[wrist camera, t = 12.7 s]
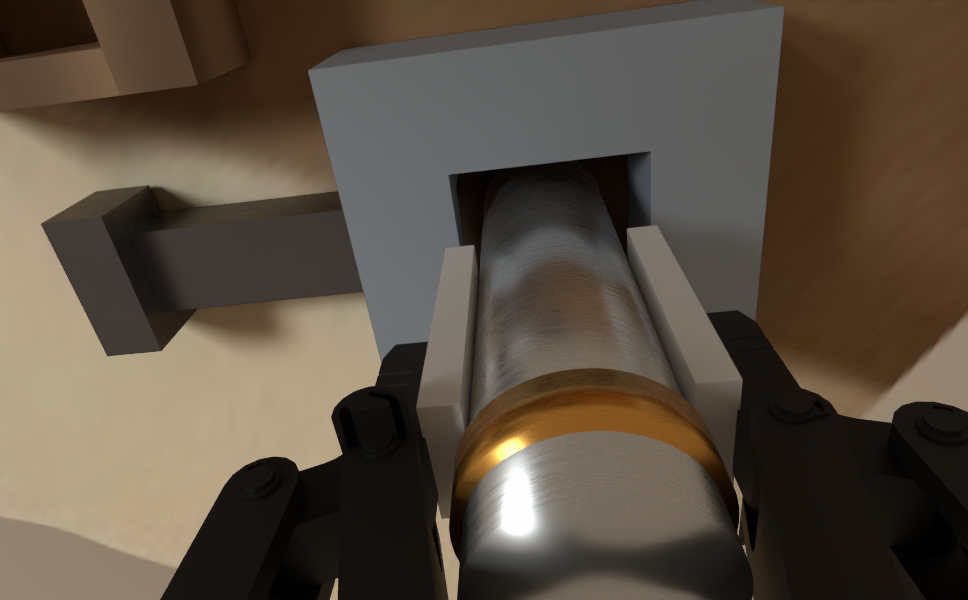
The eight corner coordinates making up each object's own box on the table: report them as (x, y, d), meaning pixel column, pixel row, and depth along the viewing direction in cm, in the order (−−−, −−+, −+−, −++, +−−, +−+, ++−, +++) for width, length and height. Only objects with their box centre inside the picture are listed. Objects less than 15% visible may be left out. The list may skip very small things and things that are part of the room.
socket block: (412, 361, 26) (397, 426, 22) (342, 49, 20) (307, 70, 16) (713, 334, 24) (748, 397, 21) (733, -4, 19) (784, 6, 15)
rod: (486, 270, 23) (467, 699, 10) (470, 152, 21) (415, 499, 8) (608, 257, 23) (755, 685, 9) (603, 135, 20) (785, 471, 7)
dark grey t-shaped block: (150, 313, 25) (107, 356, 22) (95, 191, 22) (40, 224, 20) (399, 287, 24) (386, 329, 21) (371, 158, 21) (352, 187, 19)
